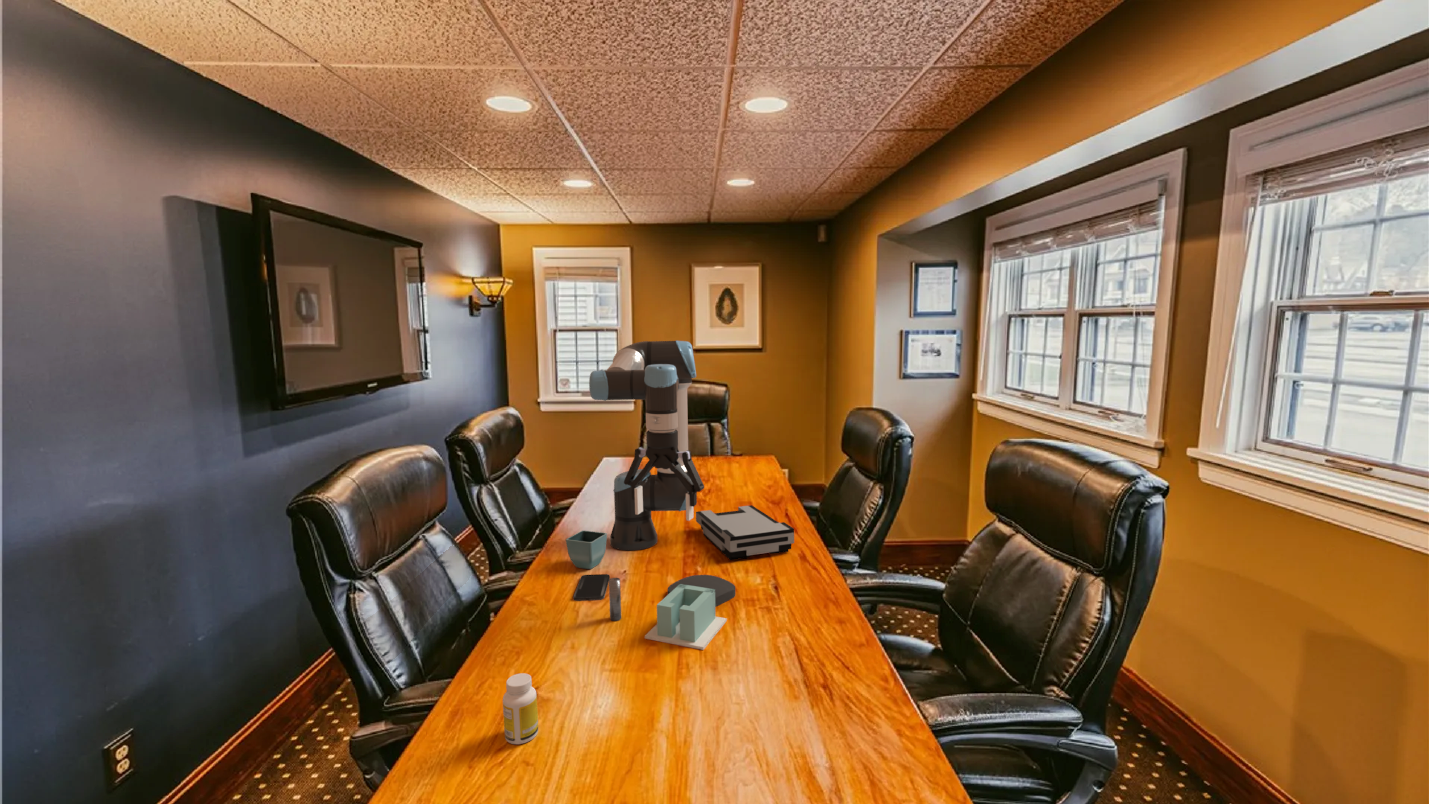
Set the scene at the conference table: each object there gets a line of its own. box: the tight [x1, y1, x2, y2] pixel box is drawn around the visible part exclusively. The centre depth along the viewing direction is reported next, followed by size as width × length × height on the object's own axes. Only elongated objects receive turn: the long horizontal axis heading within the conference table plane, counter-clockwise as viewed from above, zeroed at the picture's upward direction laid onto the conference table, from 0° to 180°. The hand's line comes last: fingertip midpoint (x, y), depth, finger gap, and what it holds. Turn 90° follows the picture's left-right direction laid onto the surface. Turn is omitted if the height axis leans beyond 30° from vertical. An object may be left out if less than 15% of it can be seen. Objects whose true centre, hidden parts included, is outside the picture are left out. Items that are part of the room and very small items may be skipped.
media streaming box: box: [667, 574, 736, 608], centre depth 155 cm, size 15×15×3 cm
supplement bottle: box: [502, 672, 539, 745], centre depth 101 cm, size 5×5×10 cm
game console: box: [695, 504, 795, 561], centre depth 195 cm, size 21×32×8 cm, turn 20°
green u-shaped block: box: [656, 584, 716, 642], centre depth 137 cm, size 12×9×7 cm
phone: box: [572, 573, 611, 602], centre depth 160 cm, size 8×1×15 cm
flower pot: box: [565, 530, 608, 570], centre depth 175 cm, size 9×9×9 cm
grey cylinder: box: [608, 577, 622, 622], centre depth 142 cm, size 3×3×10 cm
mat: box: [644, 615, 728, 651], centre depth 137 cm, size 14×14×1 cm
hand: (664, 515), depth 146 cm, fingers open, 13 cm apart
